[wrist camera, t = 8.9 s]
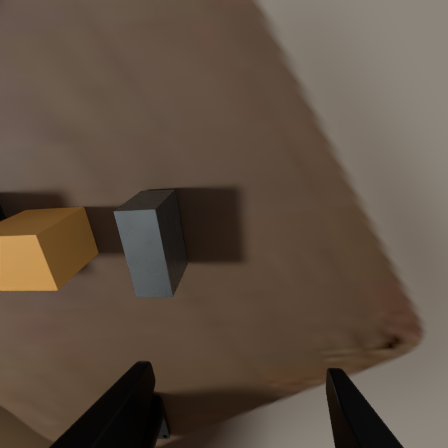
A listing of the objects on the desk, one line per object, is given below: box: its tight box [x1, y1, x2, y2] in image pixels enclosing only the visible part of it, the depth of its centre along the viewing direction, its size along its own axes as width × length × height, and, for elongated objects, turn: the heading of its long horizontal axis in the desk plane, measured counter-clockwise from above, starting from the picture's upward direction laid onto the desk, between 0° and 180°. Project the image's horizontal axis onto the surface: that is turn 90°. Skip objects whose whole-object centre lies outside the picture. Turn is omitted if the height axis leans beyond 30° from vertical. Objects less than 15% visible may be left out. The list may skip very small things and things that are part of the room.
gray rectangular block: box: [114, 189, 188, 297], centre depth 19 cm, size 6×2×4 cm, turn 5°
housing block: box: [0, 207, 98, 291], centre depth 20 cm, size 4×5×5 cm
